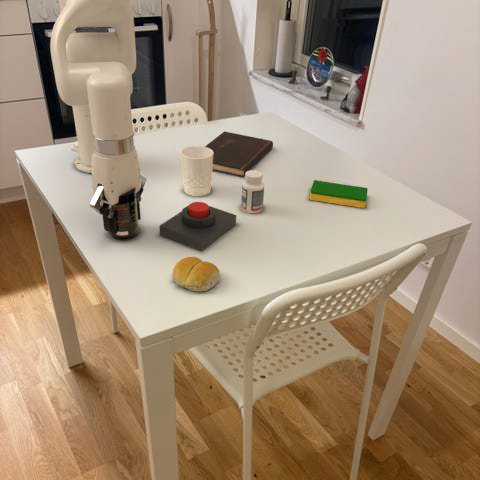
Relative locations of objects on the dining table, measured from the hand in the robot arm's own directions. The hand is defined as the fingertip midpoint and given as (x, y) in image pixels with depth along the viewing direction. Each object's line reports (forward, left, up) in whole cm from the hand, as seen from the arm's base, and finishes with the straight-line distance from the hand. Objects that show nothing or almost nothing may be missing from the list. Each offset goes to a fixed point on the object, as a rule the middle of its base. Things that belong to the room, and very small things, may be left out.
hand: (122, 224), depth 111 cm
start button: (+12, +11, +2) cm, 17 cm away
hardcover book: (-3, +51, -2) cm, 51 cm away
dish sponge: (+32, +45, -2) cm, 55 cm away
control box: (+12, +11, -2) cm, 17 cm away
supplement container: (0, 0, -2) cm, 2 cm away
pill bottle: (+17, +27, -2) cm, 32 cm away
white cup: (+1, +27, -2) cm, 27 cm away
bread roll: (+23, -5, -2) cm, 24 cm away
